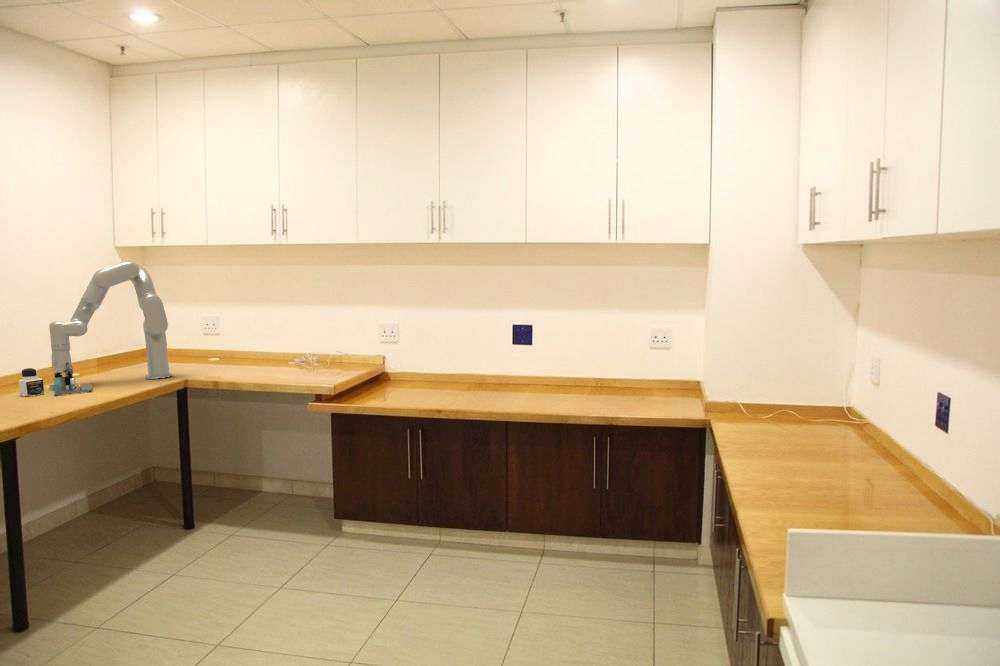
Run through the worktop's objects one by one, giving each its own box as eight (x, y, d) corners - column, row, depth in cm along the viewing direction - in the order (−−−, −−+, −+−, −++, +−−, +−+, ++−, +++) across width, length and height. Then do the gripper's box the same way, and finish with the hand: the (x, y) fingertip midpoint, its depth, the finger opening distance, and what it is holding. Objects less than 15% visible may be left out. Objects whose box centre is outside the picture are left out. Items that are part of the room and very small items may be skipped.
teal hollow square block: (68, 386, 347) (67, 375, 346) (75, 387, 343) (74, 376, 343) (47, 389, 339) (46, 379, 339) (54, 390, 336) (53, 380, 335)
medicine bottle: (27, 397, 322) (24, 370, 321) (19, 395, 326) (16, 369, 325) (44, 394, 328) (42, 367, 327) (36, 392, 332) (33, 366, 331)
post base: (54, 391, 335) (53, 378, 335) (92, 387, 343) (90, 374, 342) (54, 396, 322) (53, 382, 322) (93, 391, 330) (92, 378, 329)
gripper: (43, 347, 342) (46, 383, 344) (61, 350, 332) (64, 386, 334) (60, 346, 348) (63, 381, 350) (78, 348, 339) (81, 384, 341)
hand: (64, 384), depth 342 cm, fingers open, 9 cm apart
